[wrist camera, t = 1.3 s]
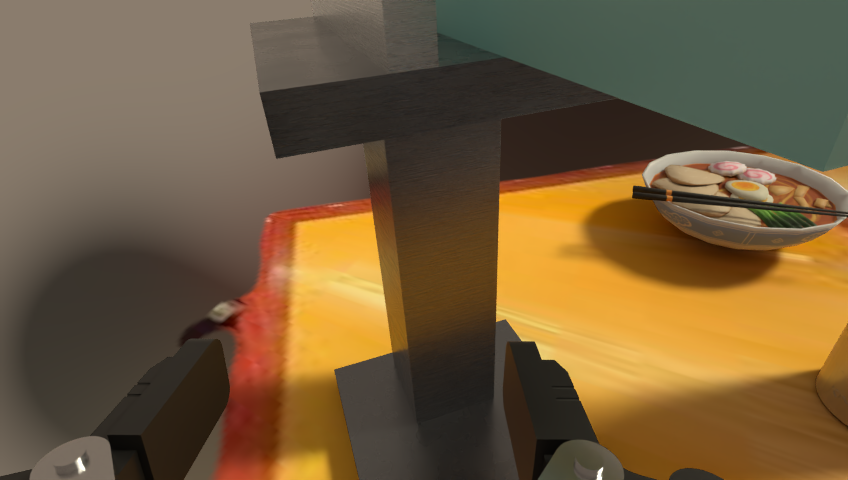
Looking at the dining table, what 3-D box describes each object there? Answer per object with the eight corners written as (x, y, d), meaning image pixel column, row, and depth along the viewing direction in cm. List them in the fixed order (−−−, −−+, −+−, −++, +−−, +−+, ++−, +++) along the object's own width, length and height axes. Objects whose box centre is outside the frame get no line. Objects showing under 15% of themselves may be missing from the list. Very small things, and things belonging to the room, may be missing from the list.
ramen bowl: (813, 205, 67) (836, 152, 63) (871, 303, 49) (909, 239, 45) (627, 186, 76) (636, 138, 71) (620, 263, 58) (632, 206, 54)
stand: (504, 333, 49) (520, -48, 31) (616, 490, 34) (775, -57, 16) (337, 384, 45) (238, -25, 26) (384, 588, 30) (234, -8, 12)
